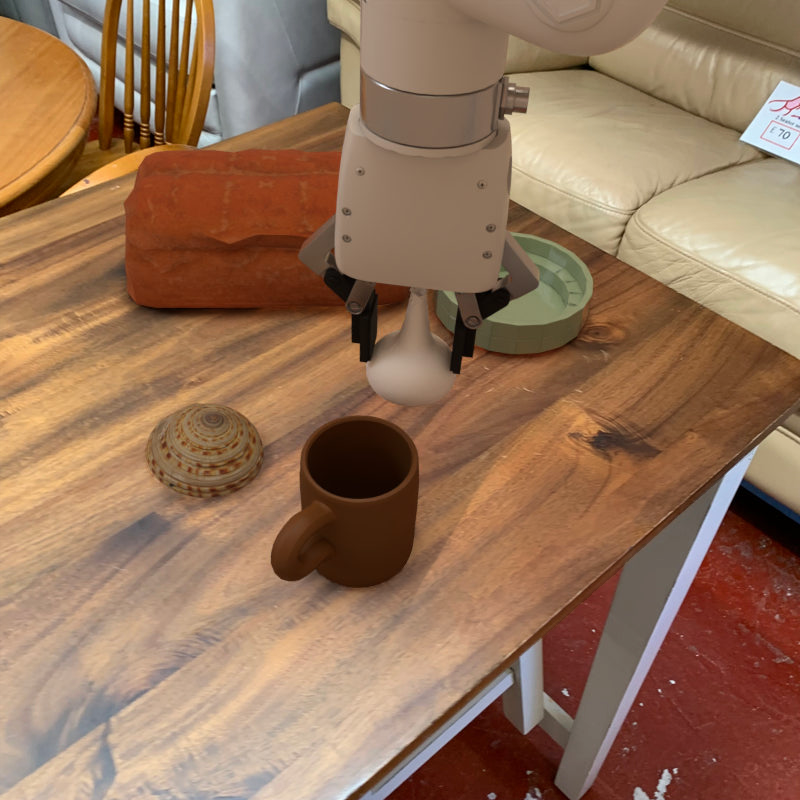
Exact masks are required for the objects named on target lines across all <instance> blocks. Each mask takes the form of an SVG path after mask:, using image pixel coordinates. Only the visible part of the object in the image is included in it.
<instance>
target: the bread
mask: <svg viewBox="0 0 800 800" xmlns="http://www.w3.org/2000/svg"><path fill="white" fill-rule="evenodd" d="M341 155H342V150H340V151H339V150H331V151H326V150H325V151H305V150H304V151H303V150H300V149H299V150H298V149H294V148H285V149H263V148H249V149H243V150H238V151H227V150H226V151H225V150H218V149H217V150H216V149H191V150H190V149H187V150H185V149H183V150H161V151H155V152H152V153H149V154H148V155H147V154H146V155H145V156H144V157H143V159H142V161H141V162H140V164H139V166H138V168H137V171H136V176H135V180H134V185H133V189H132V190H131V192H130V193H129V195H128V196H127V198H126V199H125V200H124V202H123V209H124V214H125V230H124V231H125V232H124V236H125V248H124V249H125V251H124V252H125V253H124V272H125V277H126V283H127V284H126V288H127V289H126V293H127V294H128V295H129V296H130V297H131V299H132V300H133V301H134V302H135V304H136V305H140V306H144V307H148V308H149V307H150V308H155V309H159V308H160V309H161V308H162V309H164V308H165V309H166V308H169V309H170V308H171V309H176V308H177V309H178V308H179V309H180V308H181V309H182V308H184V309H186V308H187V309H188V308H189V309H190V308H191V309H193V308H196V309H197V308H198V309H199V308H200V309H201V308H203V309H204V308H208V309H209V308H211V309H215V308H217V309H218V308H219V309H222V308H223V309H248V308H251V309H253V308H255V309H256V308H292V307H293V308H295V307H296V308H297V307H298V308H300V307H301V308H304V307H305V308H306V307H308V308H309V307H310V308H311V307H318V308H319V307H345V305H346V303H345V302H344V301H343V300H342V299H341V298H340V297H339V296H338V295H336V294H335V293H334V292H333V291H332V290H331V289H330V288H329V287H328V286H327V285H326V284H325V283H324V279H323V278H322V277H321V276H320V275H319V276H318V275H317V274H315V273H314V272H313V271H312V270H311V269H309V268H308V267H307V266H306V265H305V264H304V263H302V262H301V261H300V260H299V257H298V255H299V252H300V249H301V247H302V244H303V243H304V241H305V240H307V239H308V238H309V237H310V236H311V235H312V234H313V233H314V232H315V231H317V230H318V229H319V228H320V227H321V226H322V225H323V224H324V223H325V222H327V221H328V220H329V219H330V218H331V217H332V216H333V215H334V214H335V213H336V206H337V192H338V181H339V171H340V162H341ZM330 252H331V253H332V254H333V255H334V257H335V247H334V248H333V249H332V250H331V251H330ZM410 288H411V287H408V286H400V285H392V284H384V283H376V285H375V287H374V289H376V294H378V306H387V305H392V304H393V305H394V304H398V303H402V302H405V301H406V299H407V298H408V297H409V296H410V294H411V292H410ZM413 288H414V287H413Z"/></svg>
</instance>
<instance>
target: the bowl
mask: <svg viewBox="0 0 800 800" xmlns="http://www.w3.org/2000/svg"><path fill="white" fill-rule="evenodd" d="M509 232H510V233H511V235H512V236H513V237H514V238H515V240H516V241H517V242H518V244H519V245H520V246H521V247H522V249H523V250H524V251H525V252H526V254H527V255H528V256H529V257H530V259H531V260H532V261H533V263H534V264H535V265H536V266H537V268H538V269H539V271H540V273H539V286H538V288H536V289H535V290H533V291H531V292H529V293H527V294H525V295H523V296H522V297H520V298H518V299H516V300H515V299H513V300H511V301H510V302H509V304H508V305H507V306H506V307H505V308H503V309H501V310H499V311H498V312H496V313H494V314H493V315H491V316H489V317H488V318H486V319H484V320H483V321H482V325H481V326H480V327H479V328H477V330H476V337H475V345H474V346H476V347H479V348H480V349H484V350H486V351H490V352H495V353H503V354H508V355H529V354H540V353H544V352H547V351H551V350H554V349H555V350H556V349H559V348H560V347H561V348H562V347H563V346H564V345H566V344H567V343H569V342H570V341H572V340H573V339H575V338H576V337H577V336H578V335H579V333H580V332H581V330H582V329H583V328H584V326H585V324H586V322H587V318H588V314H589V311H590V306H591V302H592V298H593V294H594V293H593V291H594V279H593V276H592V274H591V272H590V270H589V267H588V266H587V264H586V263H585V262H584V261H583V260H581V259H580V258H579V257H578V256H577V255H576V254H575V253H574V252H573V251H572V250H569V249H567V248H566V247H564V246H562V245H561V244H559V243H557V242H555V241H552V240H549V239H546V238H543V237H540V236H537V235H533V234H528V233H521V232H514V231H509ZM507 274H509V273H508V272H507V271H506V269H505V268H504V267H503V266H502V264H501V269H500V273H499V277H498V278H504V277H506V275H507ZM432 302H433V306H434V310H435V315H436V316H437V318H438V319H439V320H440V322H441V323H442V324H443V325H444V327H445V328H446V329H447V330H448V331H450V332H451V333H452V334H454V329H455V323H456V316H457V309H458V303H457V300H456V296H455V293H454V292H452V291H443V290H434V289H433V292H432Z"/></svg>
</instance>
